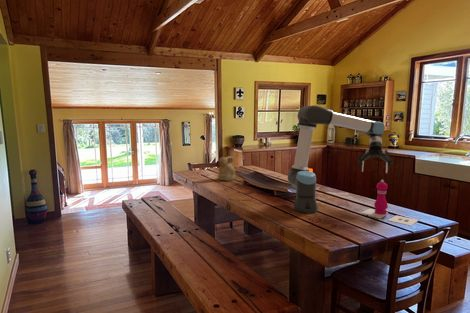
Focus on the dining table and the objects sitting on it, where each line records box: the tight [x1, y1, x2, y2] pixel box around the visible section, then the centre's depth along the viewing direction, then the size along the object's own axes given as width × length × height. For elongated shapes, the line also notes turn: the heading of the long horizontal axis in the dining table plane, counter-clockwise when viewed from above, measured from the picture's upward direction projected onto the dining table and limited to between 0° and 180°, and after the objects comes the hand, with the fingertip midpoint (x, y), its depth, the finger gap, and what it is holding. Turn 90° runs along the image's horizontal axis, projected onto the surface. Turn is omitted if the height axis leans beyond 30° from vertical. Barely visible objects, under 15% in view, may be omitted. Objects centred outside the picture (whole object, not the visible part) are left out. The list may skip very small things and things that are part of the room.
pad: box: [360, 208, 389, 219], centre depth 189 cm, size 11×11×1 cm
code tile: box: [387, 215, 420, 227], centre depth 178 cm, size 12×12×1 cm
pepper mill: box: [373, 179, 389, 215], centre depth 187 cm, size 7×7×20 cm
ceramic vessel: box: [217, 151, 236, 182], centre depth 291 cm, size 17×20×25 cm
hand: (374, 171), depth 197 cm, fingers open, 13 cm apart
